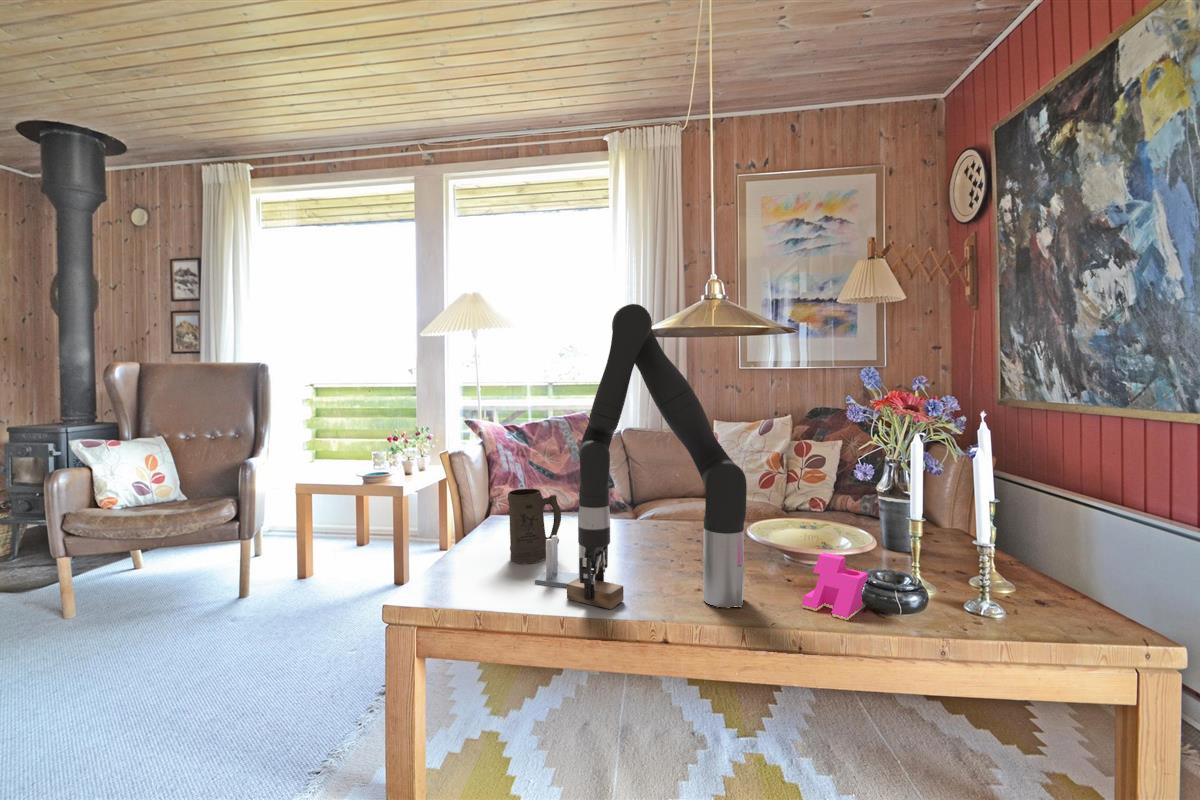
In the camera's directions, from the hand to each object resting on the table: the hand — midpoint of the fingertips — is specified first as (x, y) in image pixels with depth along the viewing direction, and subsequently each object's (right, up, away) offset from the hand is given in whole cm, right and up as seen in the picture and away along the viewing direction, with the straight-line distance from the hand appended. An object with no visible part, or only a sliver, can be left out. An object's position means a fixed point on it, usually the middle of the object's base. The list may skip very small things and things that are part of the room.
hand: (594, 593), depth 135 cm
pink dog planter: (+55, -2, -3) cm, 55 cm away
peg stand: (-7, -1, +13) cm, 15 cm away
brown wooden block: (0, -1, 0) cm, 1 cm away
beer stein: (-18, -1, +32) cm, 37 cm away
